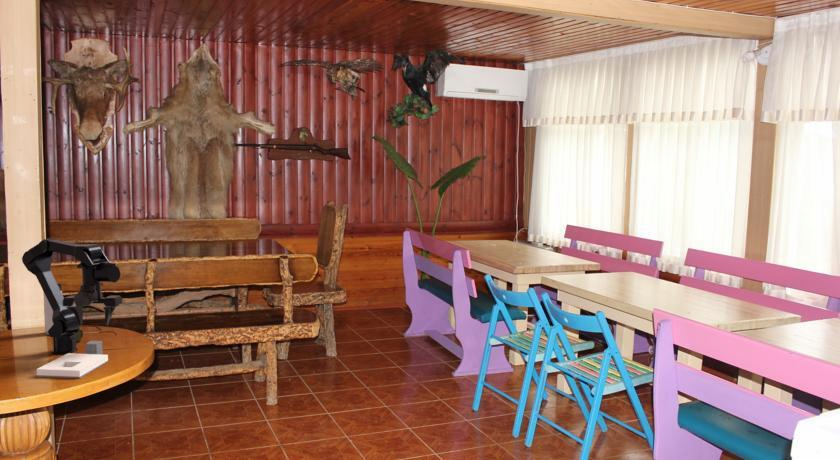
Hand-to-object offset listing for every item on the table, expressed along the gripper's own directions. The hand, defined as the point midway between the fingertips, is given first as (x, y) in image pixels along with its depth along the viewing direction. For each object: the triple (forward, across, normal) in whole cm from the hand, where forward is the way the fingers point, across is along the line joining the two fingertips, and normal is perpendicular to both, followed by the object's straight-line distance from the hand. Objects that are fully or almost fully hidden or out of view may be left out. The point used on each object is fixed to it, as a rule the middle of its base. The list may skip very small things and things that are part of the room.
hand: (93, 325), depth 247 cm
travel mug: (+10, -31, +29) cm, 43 cm away
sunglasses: (+11, -15, +26) cm, 32 cm away
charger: (+11, 0, 0) cm, 11 cm away
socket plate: (+11, 0, -15) cm, 19 cm away
